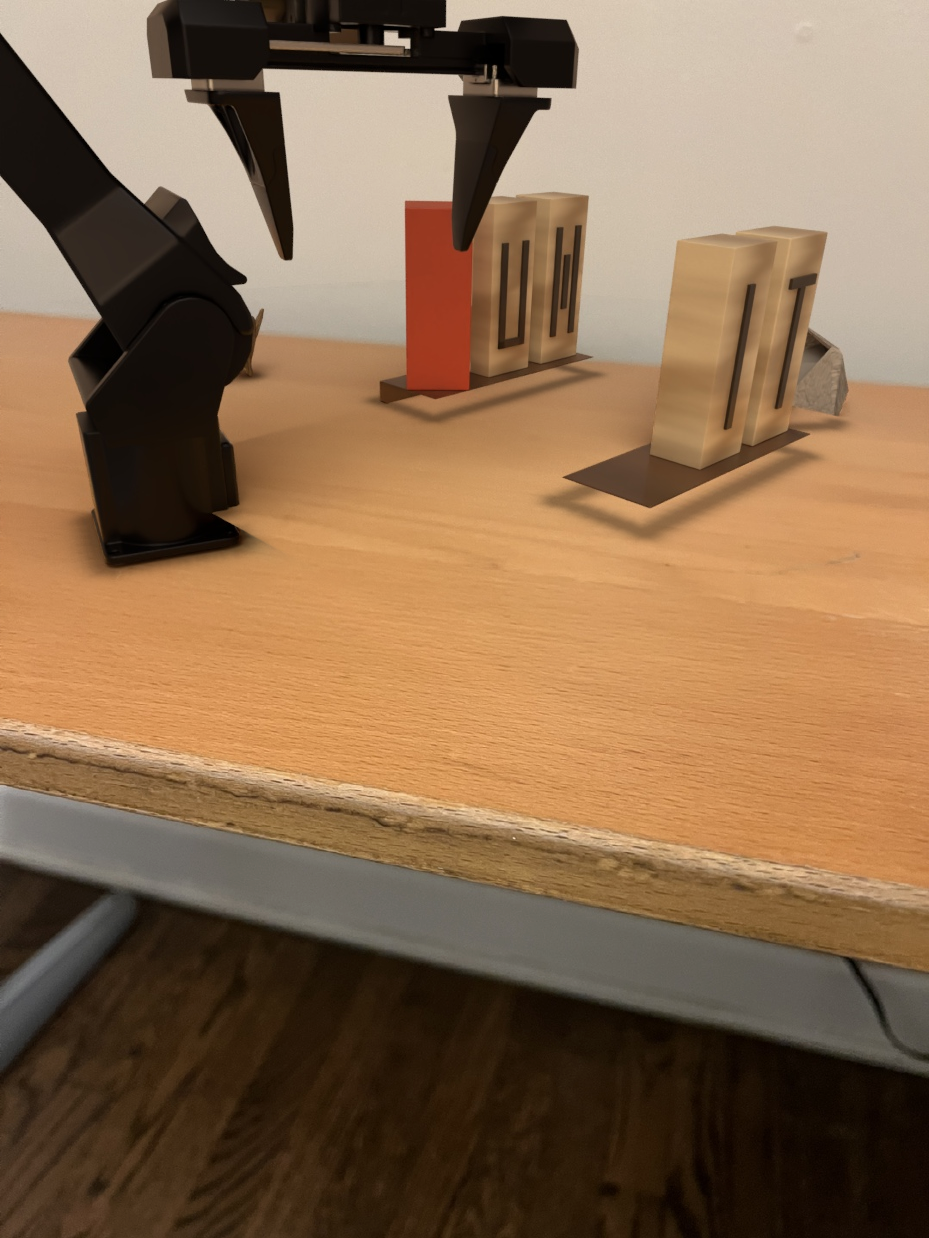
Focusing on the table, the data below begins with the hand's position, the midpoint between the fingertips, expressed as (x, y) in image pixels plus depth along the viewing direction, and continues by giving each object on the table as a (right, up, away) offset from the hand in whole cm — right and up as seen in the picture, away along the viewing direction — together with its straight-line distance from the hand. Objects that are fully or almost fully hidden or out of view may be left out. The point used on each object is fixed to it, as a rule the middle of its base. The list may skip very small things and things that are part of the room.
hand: (376, 255), depth 45 cm
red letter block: (+2, -1, +22) cm, 22 cm away
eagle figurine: (-17, +2, +28) cm, 33 cm away
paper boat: (+28, -2, +23) cm, 37 cm away
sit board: (+18, -9, +10) cm, 23 cm away
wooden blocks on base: (+7, 0, +26) cm, 27 cm away
